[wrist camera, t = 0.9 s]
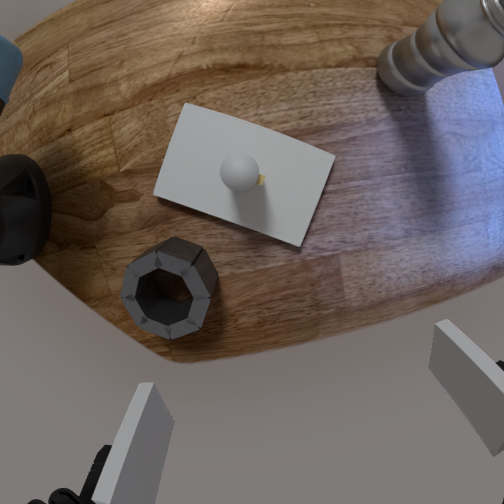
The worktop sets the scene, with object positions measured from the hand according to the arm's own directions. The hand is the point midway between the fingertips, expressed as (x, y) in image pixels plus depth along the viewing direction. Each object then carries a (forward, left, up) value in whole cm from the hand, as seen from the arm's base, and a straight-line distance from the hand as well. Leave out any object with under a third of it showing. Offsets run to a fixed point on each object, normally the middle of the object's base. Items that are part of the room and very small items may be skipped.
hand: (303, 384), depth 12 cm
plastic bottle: (+6, +25, -21) cm, 33 cm away
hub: (-9, -6, -20) cm, 23 cm away
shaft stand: (-6, +7, -20) cm, 22 cm away
